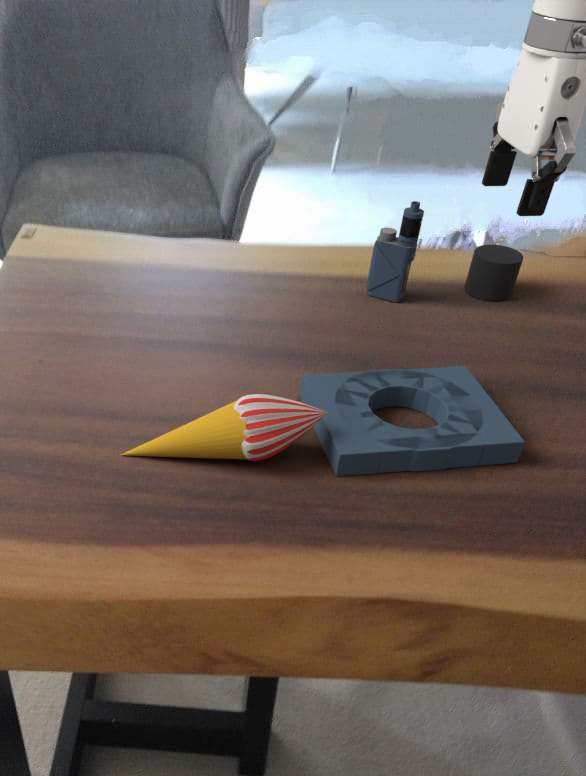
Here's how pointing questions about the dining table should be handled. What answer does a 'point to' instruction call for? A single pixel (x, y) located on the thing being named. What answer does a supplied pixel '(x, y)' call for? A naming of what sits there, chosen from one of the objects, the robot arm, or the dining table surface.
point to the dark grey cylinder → (493, 272)
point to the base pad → (402, 445)
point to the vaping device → (394, 256)
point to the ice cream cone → (238, 430)
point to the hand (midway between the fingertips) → (510, 199)
